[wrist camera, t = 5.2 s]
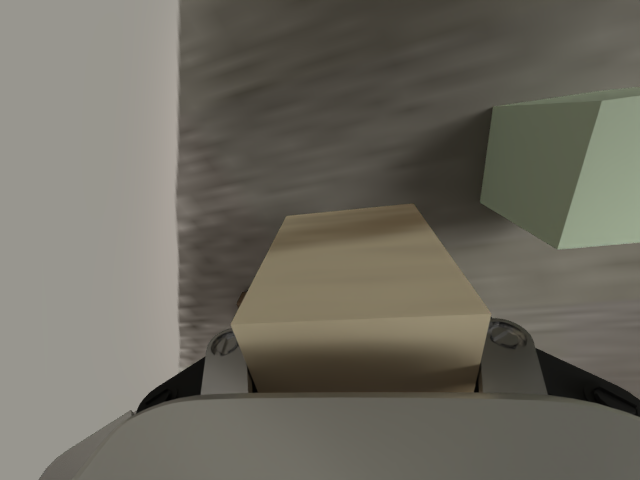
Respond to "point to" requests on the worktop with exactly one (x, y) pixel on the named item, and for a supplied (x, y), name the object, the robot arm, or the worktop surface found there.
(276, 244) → the maple block
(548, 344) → the worktop surface
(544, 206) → the sage block
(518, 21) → the worktop surface
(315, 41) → the worktop surface
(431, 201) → the worktop surface
